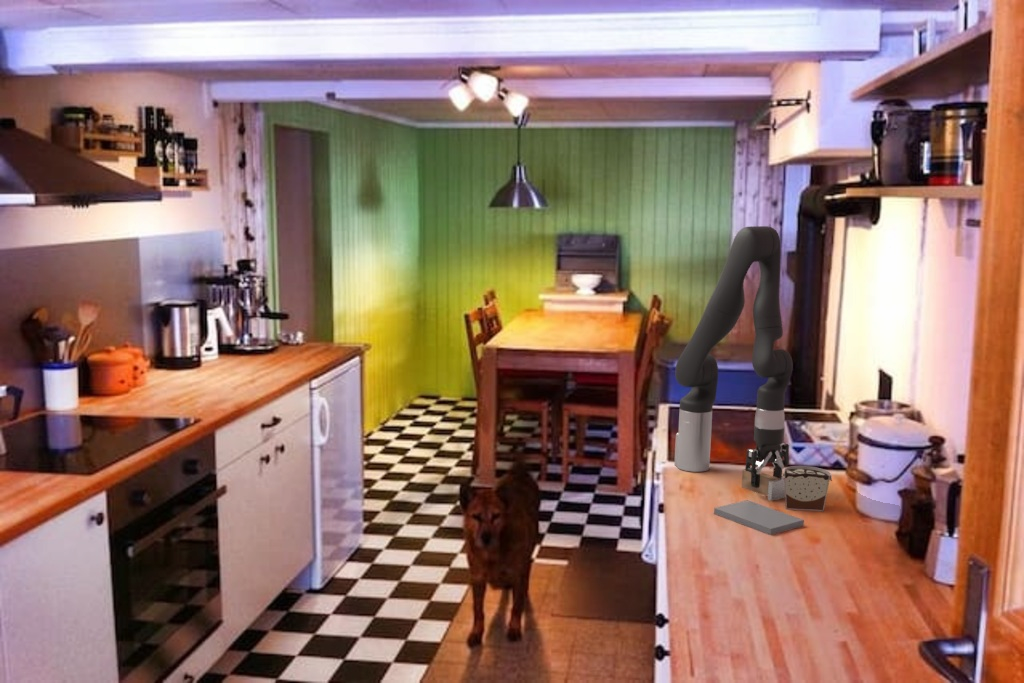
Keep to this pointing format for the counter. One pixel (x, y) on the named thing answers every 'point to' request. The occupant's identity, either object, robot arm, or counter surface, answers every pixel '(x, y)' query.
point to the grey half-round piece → (806, 487)
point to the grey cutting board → (759, 517)
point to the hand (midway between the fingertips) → (766, 484)
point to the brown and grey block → (765, 485)
